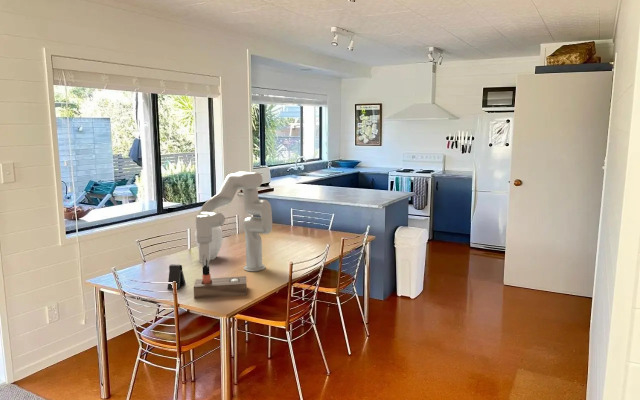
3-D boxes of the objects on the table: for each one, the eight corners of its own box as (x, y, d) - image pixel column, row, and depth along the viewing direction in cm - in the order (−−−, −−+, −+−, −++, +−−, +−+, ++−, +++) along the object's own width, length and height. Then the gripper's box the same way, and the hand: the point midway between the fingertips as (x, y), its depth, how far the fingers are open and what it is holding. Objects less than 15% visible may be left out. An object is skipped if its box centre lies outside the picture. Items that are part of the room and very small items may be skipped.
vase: (217, 262, 292) (215, 223, 288) (190, 261, 296) (188, 223, 292) (228, 255, 309) (226, 218, 305) (203, 254, 313) (201, 217, 309)
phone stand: (178, 289, 245) (176, 267, 243) (167, 289, 246) (166, 267, 244) (185, 284, 253) (184, 262, 251) (175, 283, 254) (174, 262, 252)
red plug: (203, 284, 239) (202, 273, 239) (211, 283, 240) (210, 273, 239) (202, 286, 236) (202, 276, 235) (210, 286, 236) (210, 275, 235)
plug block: (196, 290, 243) (195, 279, 242) (246, 286, 248) (246, 276, 247) (194, 298, 232) (193, 286, 231) (246, 294, 236) (246, 283, 235)
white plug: (231, 289, 242) (230, 279, 241) (238, 288, 243) (238, 278, 242) (230, 291, 238) (230, 281, 237) (238, 291, 239) (238, 281, 238)
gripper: (198, 236, 241) (199, 270, 243) (195, 243, 226) (197, 279, 229) (213, 235, 242) (214, 269, 245) (211, 242, 227) (212, 278, 230)
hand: (206, 274), depth 237 cm, fingers closed
